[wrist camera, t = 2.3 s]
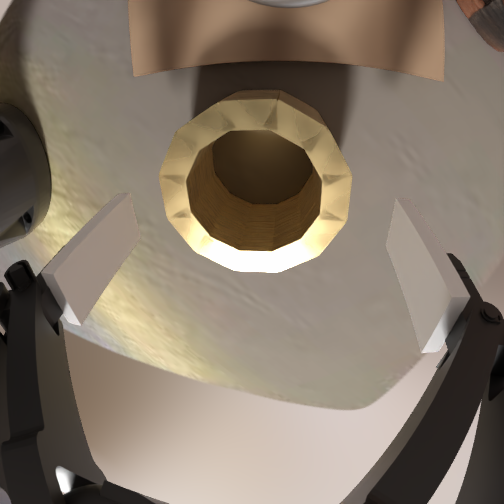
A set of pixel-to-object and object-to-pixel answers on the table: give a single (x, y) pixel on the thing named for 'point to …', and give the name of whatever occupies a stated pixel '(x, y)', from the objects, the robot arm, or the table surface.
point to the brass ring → (242, 212)
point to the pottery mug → (486, 20)
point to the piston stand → (288, 33)
